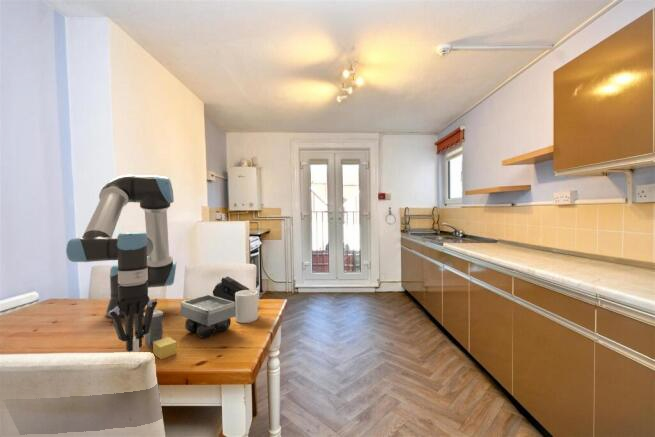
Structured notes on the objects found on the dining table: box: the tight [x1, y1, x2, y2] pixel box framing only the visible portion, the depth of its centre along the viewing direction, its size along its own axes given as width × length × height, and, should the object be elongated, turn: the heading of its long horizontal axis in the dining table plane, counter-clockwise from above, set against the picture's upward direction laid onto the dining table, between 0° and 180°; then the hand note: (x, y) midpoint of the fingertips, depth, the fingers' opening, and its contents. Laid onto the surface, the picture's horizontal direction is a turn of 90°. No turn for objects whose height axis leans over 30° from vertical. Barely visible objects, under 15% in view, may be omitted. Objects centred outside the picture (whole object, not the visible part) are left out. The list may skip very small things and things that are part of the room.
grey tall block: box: [143, 309, 164, 347], centre depth 103 cm, size 4×4×11 cm
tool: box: [212, 276, 251, 302], centre depth 142 cm, size 6×19×15 cm
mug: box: [235, 289, 259, 324], centre depth 127 cm, size 10×12×12 cm
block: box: [152, 336, 178, 360], centre depth 96 cm, size 6×5×4 cm
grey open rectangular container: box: [180, 294, 236, 339], centre depth 113 cm, size 18×13×12 cm
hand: (134, 359), depth 88 cm, fingers closed
